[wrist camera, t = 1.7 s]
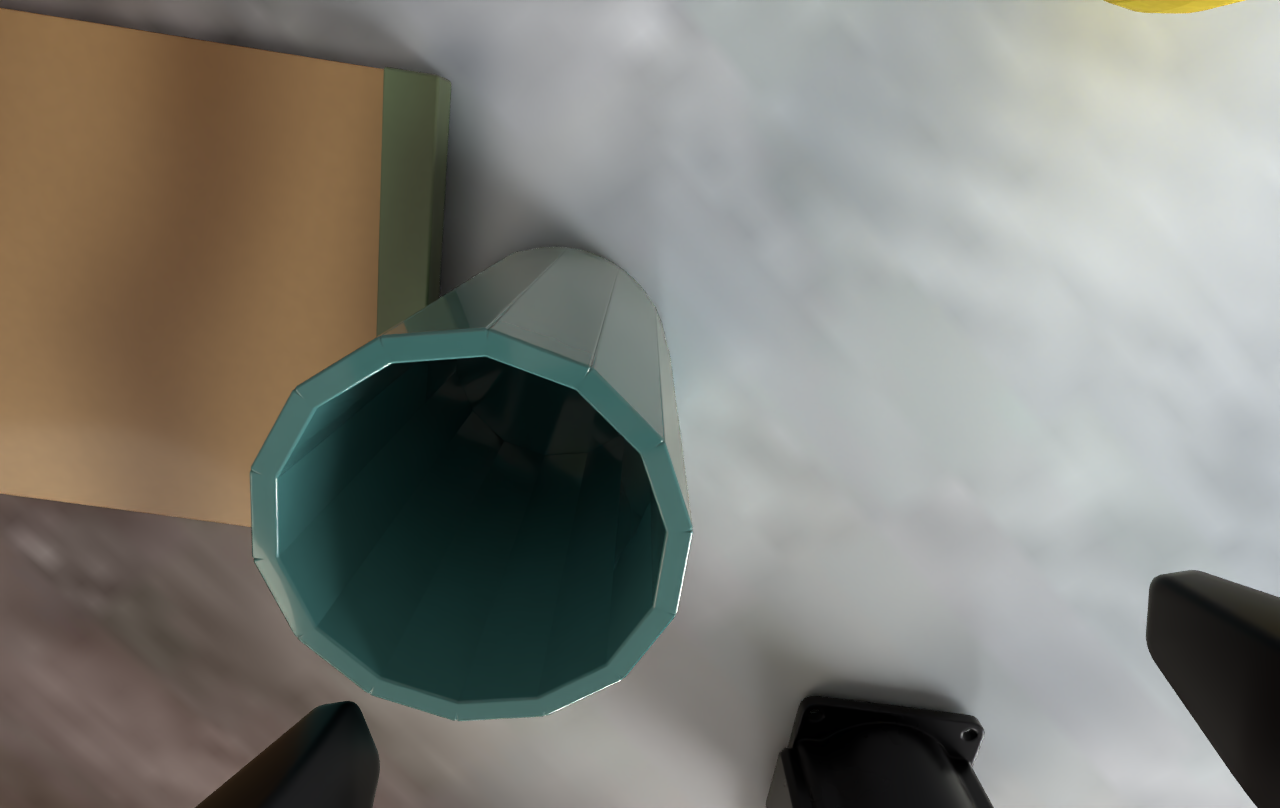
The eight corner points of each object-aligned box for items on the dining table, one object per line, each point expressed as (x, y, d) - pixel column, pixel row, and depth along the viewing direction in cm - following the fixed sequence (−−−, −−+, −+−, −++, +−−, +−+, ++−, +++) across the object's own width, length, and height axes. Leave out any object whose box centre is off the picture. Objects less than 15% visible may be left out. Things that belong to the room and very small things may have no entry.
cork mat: (452, 80, 18) (439, 74, 17) (426, 545, 23) (414, 565, 22) (-73, -4, 18) (-122, -15, 17) (5, 489, 22) (-29, 506, 21)
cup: (683, 261, 20) (726, 363, 9) (648, 470, 22) (652, 746, 11) (458, 227, 19) (242, 293, 9) (444, 442, 22) (255, 697, 11)
